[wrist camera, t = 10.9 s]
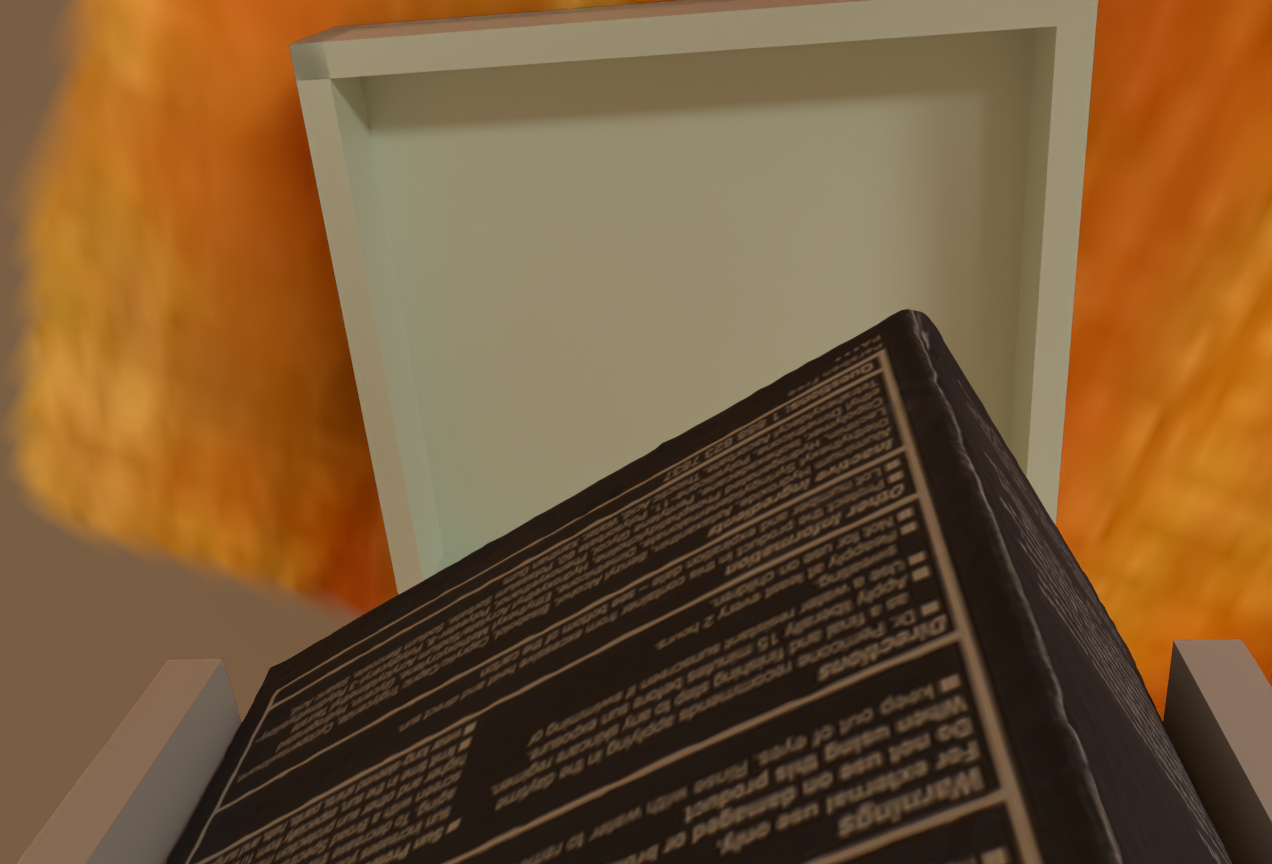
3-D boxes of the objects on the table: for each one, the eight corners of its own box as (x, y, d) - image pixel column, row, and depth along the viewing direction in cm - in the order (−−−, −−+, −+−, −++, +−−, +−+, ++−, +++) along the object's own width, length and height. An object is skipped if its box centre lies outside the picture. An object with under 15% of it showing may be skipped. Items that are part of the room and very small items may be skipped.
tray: (334, 27, 28) (288, 44, 25) (1063, -29, 26) (1099, -17, 23) (430, 557, 34) (402, 616, 31) (1024, 544, 32) (1048, 606, 29)
